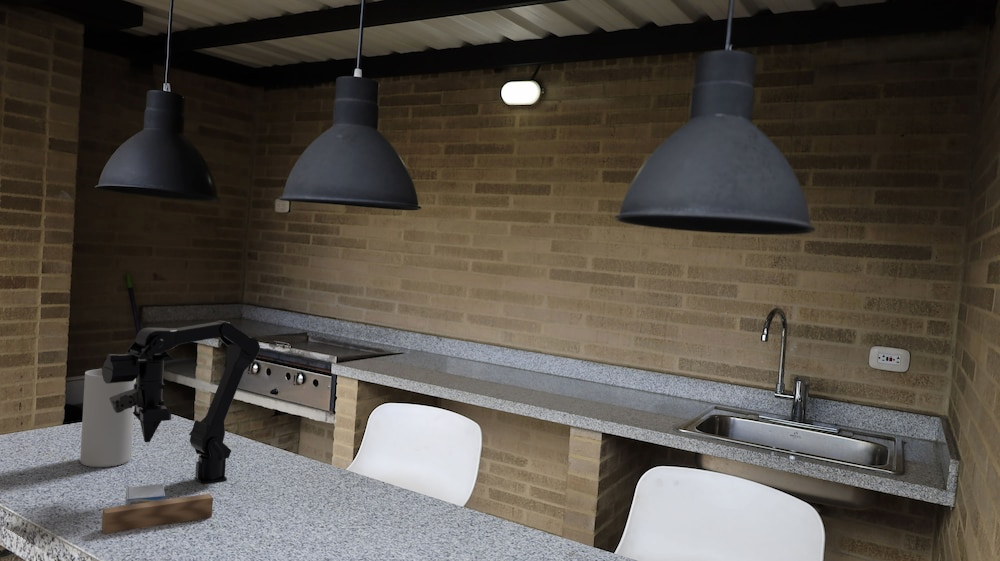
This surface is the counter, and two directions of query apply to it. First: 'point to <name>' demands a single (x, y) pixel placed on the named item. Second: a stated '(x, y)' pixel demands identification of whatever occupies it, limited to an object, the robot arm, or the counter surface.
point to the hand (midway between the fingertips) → (147, 441)
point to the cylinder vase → (105, 423)
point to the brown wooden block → (156, 513)
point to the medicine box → (144, 494)
